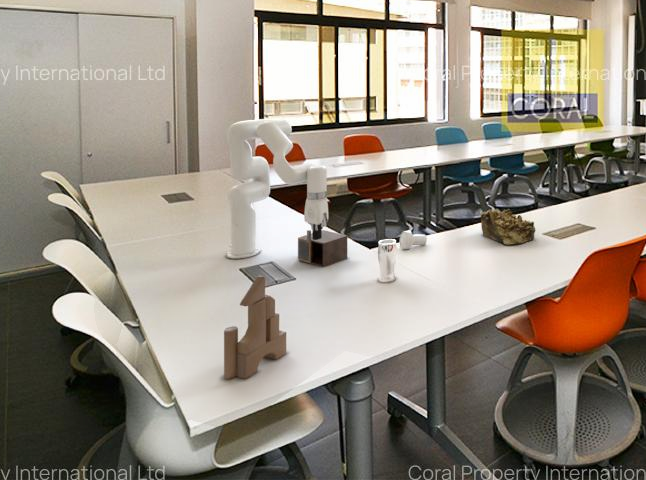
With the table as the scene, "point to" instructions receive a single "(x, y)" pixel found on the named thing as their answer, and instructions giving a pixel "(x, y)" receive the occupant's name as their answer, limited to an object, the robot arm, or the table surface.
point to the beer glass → (387, 259)
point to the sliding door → (305, 248)
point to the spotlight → (411, 239)
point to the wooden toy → (254, 335)
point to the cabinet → (328, 248)
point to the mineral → (506, 227)
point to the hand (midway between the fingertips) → (317, 239)
